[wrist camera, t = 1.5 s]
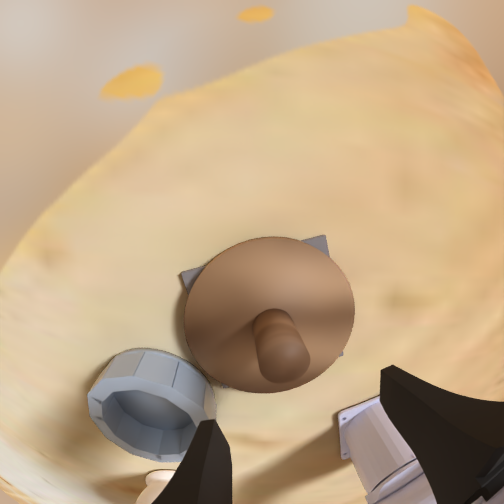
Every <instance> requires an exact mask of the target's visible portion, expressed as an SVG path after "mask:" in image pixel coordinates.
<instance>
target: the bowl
mask: <svg viewBox="0 0 504 504" xmlns="http://www.w3.org/2000/svg"><path fill="white" fill-rule="evenodd" d="M87 397H88V407H89V415H90V417H91V419H92V420H93V421H94V423H95V424H96V425H97V427H98V428H99V429H100V431H101V432H102V433H103V435H104V436H105V437H107V439H109V440H110V441H112V442H113V443H115V444H116V445H118V446H119V447H121V448H122V449H124V450H126V451H127V452H129V453H131V454H133V455H136V456H140V457H143V458H146V459H150V460H154V461H158V462H181V461H182V459H183V457H184V455H185V454H186V452H187V450H188V448H189V446H190V443H191V441H192V439H193V437H194V434H195V432H196V430H197V427H198V425H199V423H200V421H203V420H210V419H215V420H216V407H217V404H216V402H215V397H214V392H213V389H212V387H211V385H210V383H209V381H208V380H207V379H206V377H205V376H204V375H203V374H202V373H201V372H200V371H199V370H198V369H197V368H196V367H195V366H193V365H192V364H191V363H189V362H188V361H186V360H184V359H182V358H181V357H179V356H176V355H174V354H172V353H169V352H166V351H162V350H158V349H151V348H135V349H130V350H126V351H124V352H121V353H119V354H118V355H116V356H115V357H114V358H113V359H112V360H111V361H110V362H109V364H108V365H107V367H106V368H105V369H104V370H103V371H102V372H101V374H100V375H99V377H98V378H97V380H96V381H95V383H94V385H93V386H92V388H91V389H90V391H89V393H88V394H87Z"/></svg>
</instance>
